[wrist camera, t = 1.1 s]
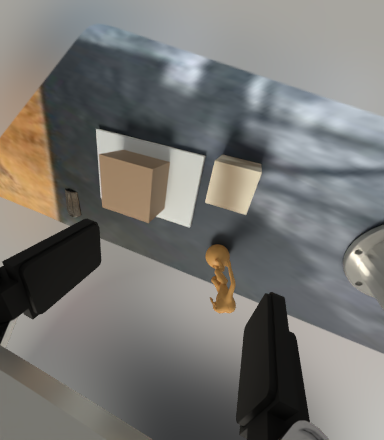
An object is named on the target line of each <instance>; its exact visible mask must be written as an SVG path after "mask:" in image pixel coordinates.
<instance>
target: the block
mask: <svg viewBox="0 0 384 440" xmlns="http://www.w3.org/2000/svg"><path fill="white" fill-rule="evenodd" d="M65 195H66V204H67V211H68V213H69V215H70V216H72V217H78V216H80V215H81V210H80V205H79V199H78V194H77V192H74V191H71V190H68V189H65Z"/></svg>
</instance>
